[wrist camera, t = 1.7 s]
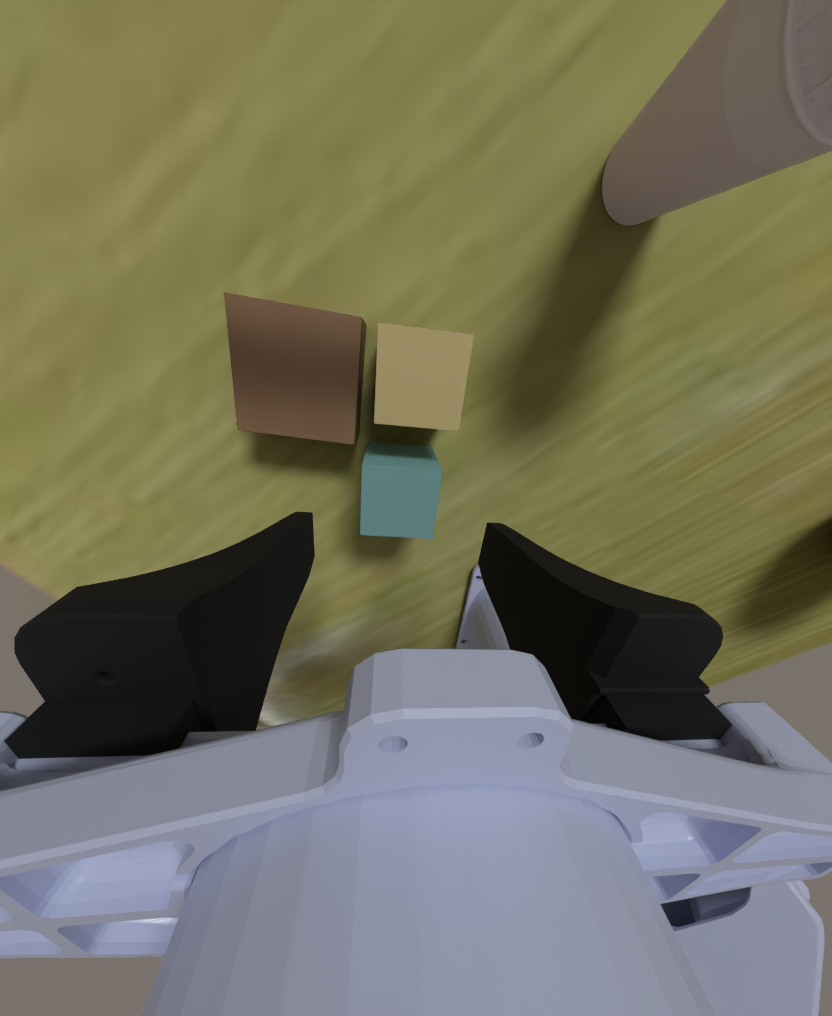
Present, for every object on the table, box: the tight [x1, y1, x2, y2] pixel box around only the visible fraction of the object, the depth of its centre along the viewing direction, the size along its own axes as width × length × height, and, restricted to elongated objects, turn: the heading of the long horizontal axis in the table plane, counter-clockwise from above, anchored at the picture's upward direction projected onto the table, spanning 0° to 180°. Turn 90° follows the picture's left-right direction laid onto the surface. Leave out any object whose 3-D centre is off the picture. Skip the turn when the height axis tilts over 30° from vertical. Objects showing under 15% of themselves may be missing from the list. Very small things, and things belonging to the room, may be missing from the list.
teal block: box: [360, 441, 442, 539], centre depth 18 cm, size 4×4×5 cm
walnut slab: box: [224, 292, 366, 445], centre depth 16 cm, size 6×6×3 cm
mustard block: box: [374, 323, 474, 431], centre depth 15 cm, size 4×4×5 cm
